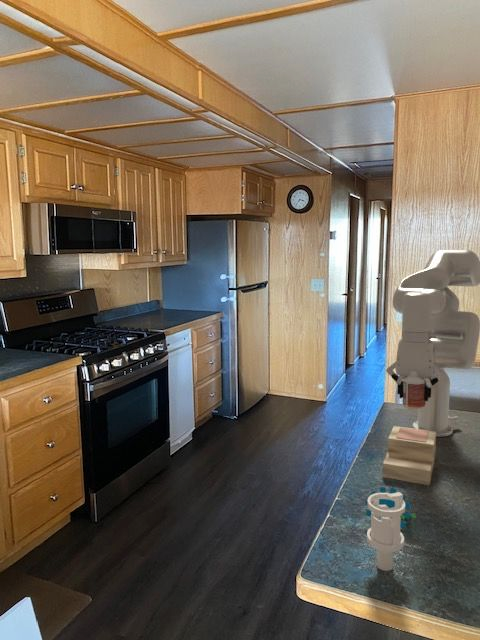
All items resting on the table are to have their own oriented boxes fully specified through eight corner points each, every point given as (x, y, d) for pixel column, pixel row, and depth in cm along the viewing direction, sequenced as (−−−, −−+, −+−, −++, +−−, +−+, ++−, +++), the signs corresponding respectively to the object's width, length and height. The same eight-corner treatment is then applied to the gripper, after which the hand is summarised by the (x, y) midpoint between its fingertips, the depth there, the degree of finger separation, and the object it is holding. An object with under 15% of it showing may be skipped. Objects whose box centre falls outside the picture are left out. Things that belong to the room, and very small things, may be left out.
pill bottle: (429, 407, 139) (431, 369, 137) (416, 411, 135) (417, 373, 133) (411, 401, 144) (412, 364, 142) (397, 405, 140) (398, 368, 139)
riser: (393, 450, 149) (393, 425, 148) (435, 457, 144) (436, 431, 143) (382, 476, 133) (383, 448, 132) (429, 485, 128) (430, 456, 127)
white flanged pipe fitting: (410, 572, 96) (413, 501, 93) (380, 581, 93) (382, 509, 91) (388, 551, 102) (389, 484, 100) (359, 559, 100) (360, 491, 97)
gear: (359, 521, 110) (372, 479, 115) (361, 527, 115) (373, 487, 119) (409, 540, 105) (420, 496, 110) (409, 546, 110) (420, 503, 114)
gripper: (450, 335, 136) (447, 397, 139) (386, 332, 143) (385, 391, 146) (448, 341, 129) (445, 406, 132) (381, 337, 136) (380, 398, 140)
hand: (413, 397), depth 139 cm, fingers closed on pill bottle, 6 cm apart
